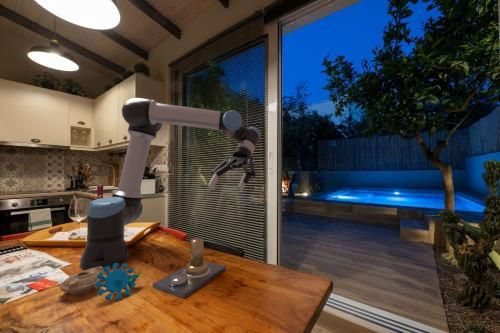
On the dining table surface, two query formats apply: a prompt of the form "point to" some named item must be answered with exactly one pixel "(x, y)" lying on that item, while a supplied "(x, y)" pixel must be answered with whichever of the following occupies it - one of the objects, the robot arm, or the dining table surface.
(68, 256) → the dining table surface
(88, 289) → the pottery oil lamp
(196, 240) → the metal knob
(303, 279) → the dining table surface
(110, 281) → the gear
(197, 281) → the carrier plate
